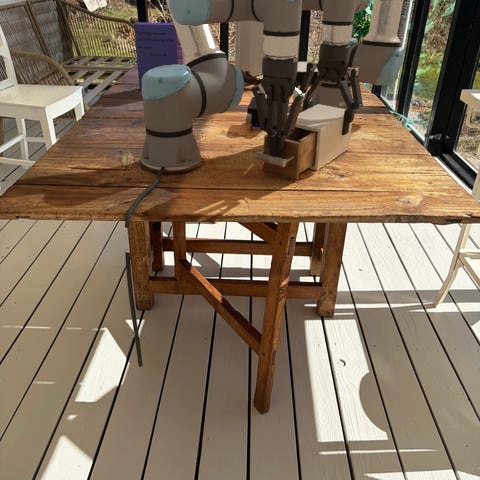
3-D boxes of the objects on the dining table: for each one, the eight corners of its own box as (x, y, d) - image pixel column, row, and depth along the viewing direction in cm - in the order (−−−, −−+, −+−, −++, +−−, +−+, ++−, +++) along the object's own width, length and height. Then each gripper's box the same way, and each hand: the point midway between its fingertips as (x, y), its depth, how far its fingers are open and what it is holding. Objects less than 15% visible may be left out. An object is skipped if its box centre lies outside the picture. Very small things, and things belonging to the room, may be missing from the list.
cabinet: (317, 170, 120) (321, 129, 115) (281, 160, 126) (283, 121, 120) (348, 148, 133) (353, 110, 127) (314, 140, 138) (318, 104, 133)
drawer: (284, 187, 110) (286, 151, 105) (250, 177, 115) (251, 142, 110) (329, 156, 126) (333, 124, 121) (298, 149, 130) (300, 117, 126)
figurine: (210, 87, 179) (288, 95, 182) (212, 65, 176) (291, 73, 180) (208, 84, 201) (278, 91, 205) (210, 64, 198) (280, 71, 202)
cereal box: (185, 88, 190) (183, 22, 177) (183, 91, 186) (180, 24, 173) (142, 87, 190) (136, 21, 178) (139, 90, 186) (133, 23, 174)
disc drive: (287, 84, 198) (287, 71, 196) (281, 72, 218) (282, 61, 215) (329, 84, 199) (330, 72, 196) (320, 72, 218) (321, 61, 216)
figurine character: (266, 138, 144) (270, 118, 156) (267, 114, 140) (271, 95, 151) (244, 136, 145) (250, 117, 157) (244, 113, 140) (250, 94, 152)
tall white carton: (273, 76, 210) (276, 6, 196) (239, 77, 209) (240, 6, 194) (266, 67, 226) (268, 2, 212) (235, 67, 225) (235, 1, 210)
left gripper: (316, 57, 99) (307, 163, 112) (263, 50, 106) (260, 151, 118) (298, 62, 94) (291, 173, 106) (244, 55, 100) (243, 160, 113)
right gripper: (385, 46, 115) (371, 134, 126) (301, 36, 126) (295, 118, 138) (373, 50, 110) (359, 142, 121) (287, 39, 121) (282, 124, 133)
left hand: (275, 161), depth 112 cm, fingers closed
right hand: (325, 129), depth 129 cm, fingers closed on cabinet, 11 cm apart
